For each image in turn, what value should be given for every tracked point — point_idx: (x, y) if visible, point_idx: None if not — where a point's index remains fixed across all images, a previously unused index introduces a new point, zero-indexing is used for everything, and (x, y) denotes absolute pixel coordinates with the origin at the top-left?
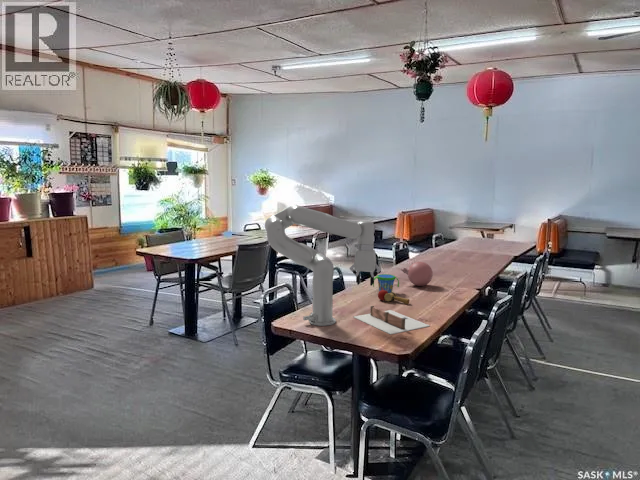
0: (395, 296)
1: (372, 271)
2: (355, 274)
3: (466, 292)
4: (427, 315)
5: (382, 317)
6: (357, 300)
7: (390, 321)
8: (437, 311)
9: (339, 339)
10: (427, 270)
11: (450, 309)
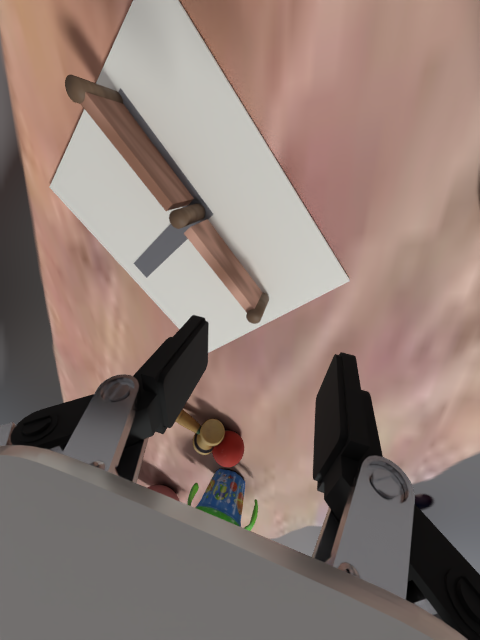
0: (195, 435)
1: (13, 447)
2: (409, 510)
3: None
4: (97, 307)
5: (213, 234)
6: (308, 447)
7: (174, 180)
8: (87, 340)
9: None
10: None
11: (68, 353)
